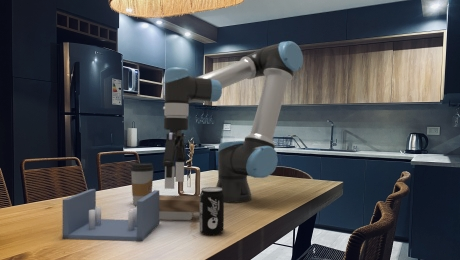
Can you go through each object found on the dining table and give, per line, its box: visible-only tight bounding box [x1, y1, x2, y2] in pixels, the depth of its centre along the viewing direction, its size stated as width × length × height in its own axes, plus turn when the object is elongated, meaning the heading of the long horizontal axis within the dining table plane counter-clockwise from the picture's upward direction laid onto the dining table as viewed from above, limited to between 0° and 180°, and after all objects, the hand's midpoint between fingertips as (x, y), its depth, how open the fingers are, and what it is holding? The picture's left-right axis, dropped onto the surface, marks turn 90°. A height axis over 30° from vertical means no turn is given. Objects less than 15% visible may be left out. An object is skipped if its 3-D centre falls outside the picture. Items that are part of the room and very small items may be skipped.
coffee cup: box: [130, 162, 154, 207], centre depth 125 cm, size 8×8×15 cm
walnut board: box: [159, 194, 200, 213], centre depth 106 cm, size 16×7×4 cm, turn 86°
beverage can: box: [199, 186, 225, 236], centre depth 92 cm, size 7×7×12 cm
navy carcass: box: [61, 188, 160, 242], centre depth 93 cm, size 21×15×10 cm
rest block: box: [159, 211, 193, 221], centre depth 106 cm, size 10×3×3 cm, turn 86°
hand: (174, 184), depth 105 cm, fingers open, 13 cm apart
